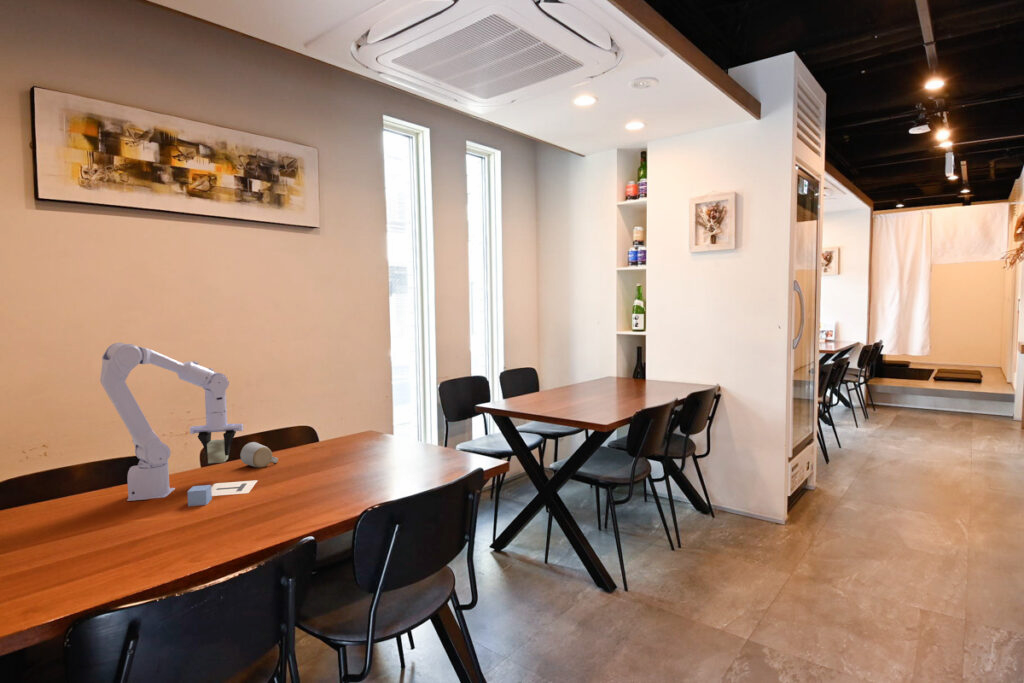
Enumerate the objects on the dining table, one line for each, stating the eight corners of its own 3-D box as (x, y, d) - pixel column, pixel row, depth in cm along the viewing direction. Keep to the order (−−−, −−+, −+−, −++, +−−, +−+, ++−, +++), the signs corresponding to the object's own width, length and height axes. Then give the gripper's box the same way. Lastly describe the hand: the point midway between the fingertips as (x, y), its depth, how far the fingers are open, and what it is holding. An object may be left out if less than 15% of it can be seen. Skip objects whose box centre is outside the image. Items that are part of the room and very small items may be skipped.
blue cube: (188, 508, 148) (187, 491, 148) (194, 502, 153) (193, 486, 152) (206, 506, 149) (205, 490, 149) (211, 500, 154) (211, 484, 153)
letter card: (202, 498, 156) (202, 496, 156) (215, 484, 167) (214, 483, 167) (248, 494, 158) (248, 493, 158) (257, 481, 170) (257, 480, 170)
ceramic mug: (253, 471, 181) (253, 447, 181) (240, 467, 186) (239, 444, 185) (283, 463, 190) (282, 441, 189) (269, 460, 194) (269, 438, 194)
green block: (208, 463, 168) (207, 443, 168) (212, 459, 173) (211, 440, 172) (224, 462, 169) (223, 442, 169) (228, 458, 174) (227, 439, 173)
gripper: (245, 407, 176) (246, 450, 177) (194, 410, 173) (196, 453, 174) (239, 412, 169) (241, 456, 170) (186, 414, 166) (188, 459, 167)
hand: (218, 455), depth 171 cm, fingers closed on green block, 4 cm apart
